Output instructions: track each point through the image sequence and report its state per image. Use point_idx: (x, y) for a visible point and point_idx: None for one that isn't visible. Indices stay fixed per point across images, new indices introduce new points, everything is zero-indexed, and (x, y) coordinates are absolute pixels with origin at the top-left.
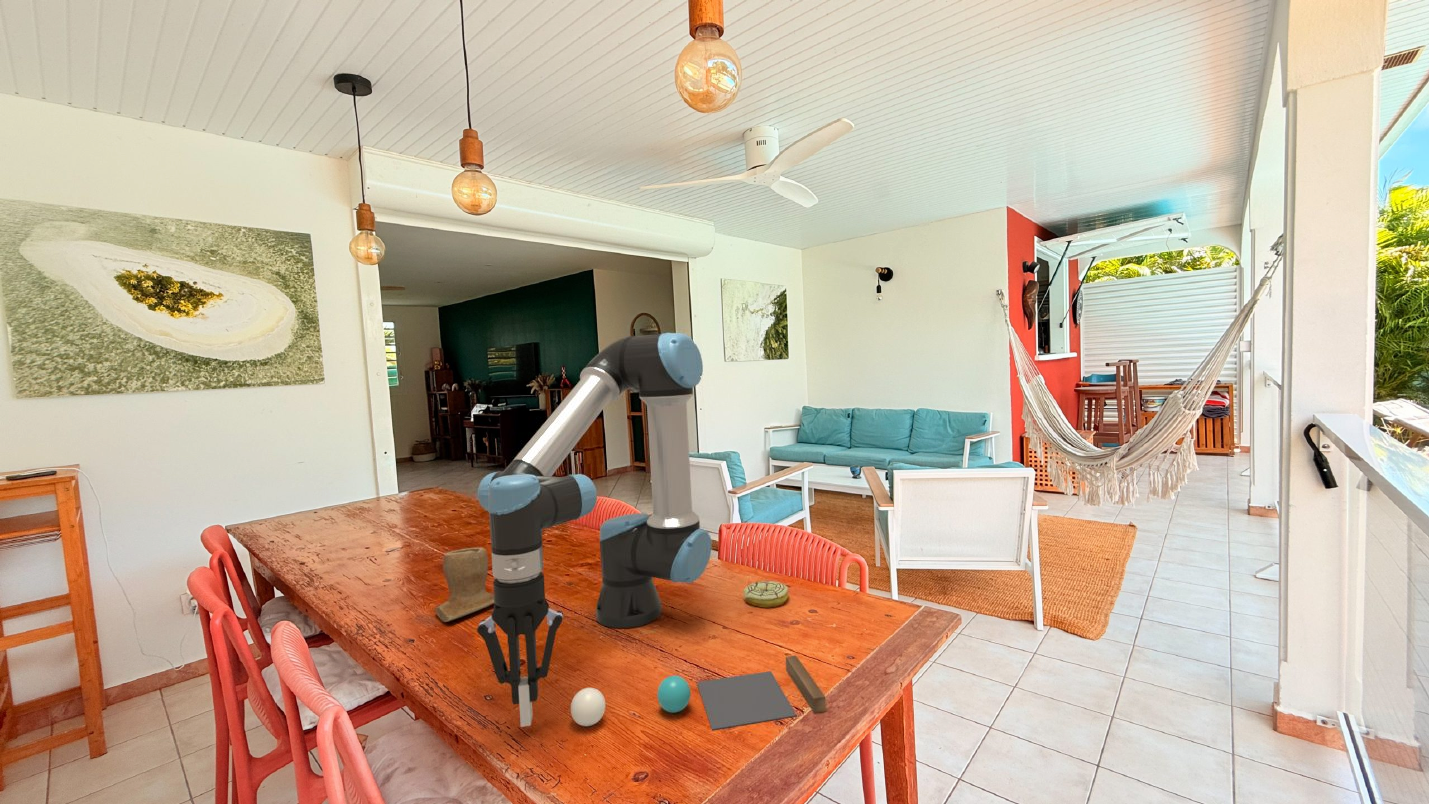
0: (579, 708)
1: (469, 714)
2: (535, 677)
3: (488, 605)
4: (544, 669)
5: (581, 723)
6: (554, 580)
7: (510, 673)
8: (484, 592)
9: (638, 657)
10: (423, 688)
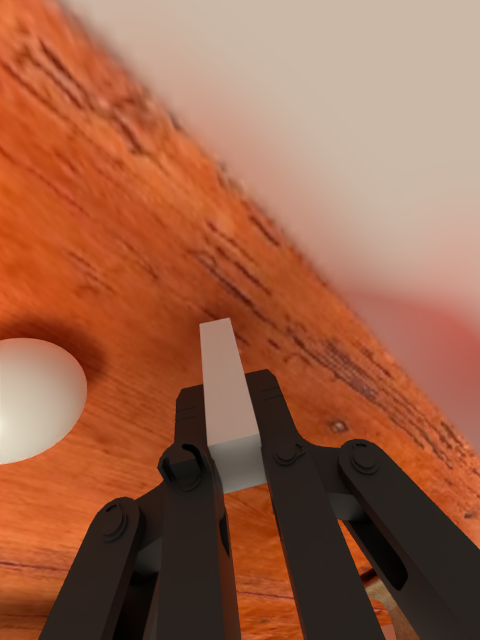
0: (3, 374)
1: (370, 381)
2: (167, 495)
3: (372, 581)
4: (99, 565)
5: (30, 339)
6: (288, 619)
7: (329, 510)
8: (386, 604)
9: (52, 543)
10: (456, 437)
